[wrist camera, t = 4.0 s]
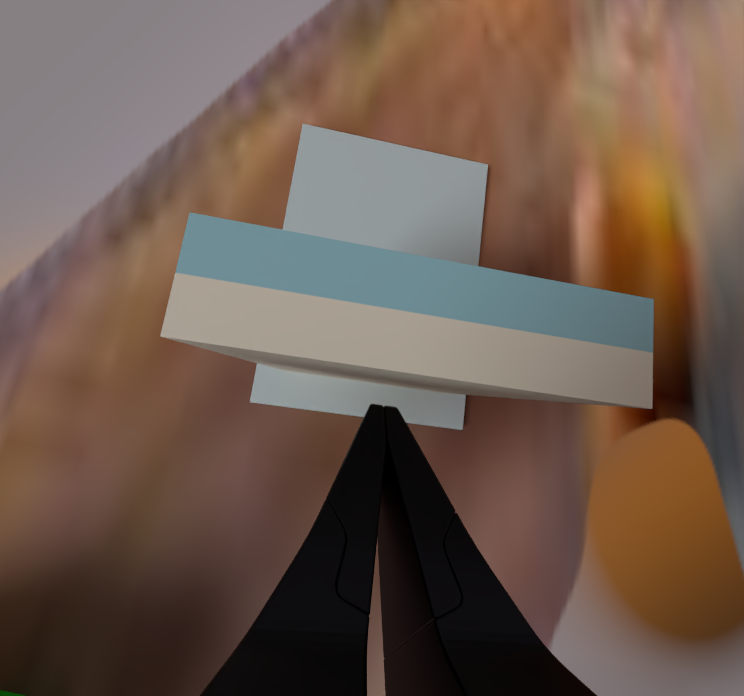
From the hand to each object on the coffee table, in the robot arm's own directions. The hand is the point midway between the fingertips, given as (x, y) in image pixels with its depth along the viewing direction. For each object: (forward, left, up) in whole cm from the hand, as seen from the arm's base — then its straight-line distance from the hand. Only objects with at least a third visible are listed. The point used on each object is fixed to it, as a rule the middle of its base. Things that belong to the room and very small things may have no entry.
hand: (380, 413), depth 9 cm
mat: (+5, -6, -8) cm, 11 cm away
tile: (+1, -2, -8) cm, 8 cm away
